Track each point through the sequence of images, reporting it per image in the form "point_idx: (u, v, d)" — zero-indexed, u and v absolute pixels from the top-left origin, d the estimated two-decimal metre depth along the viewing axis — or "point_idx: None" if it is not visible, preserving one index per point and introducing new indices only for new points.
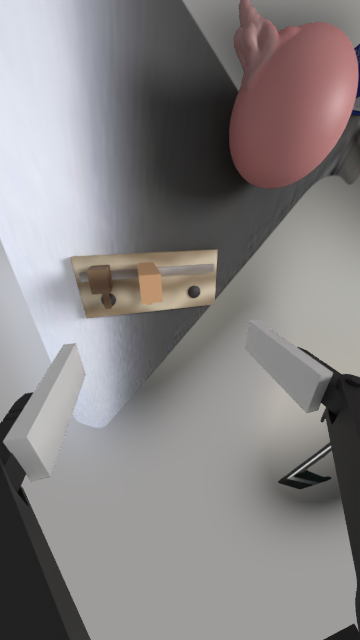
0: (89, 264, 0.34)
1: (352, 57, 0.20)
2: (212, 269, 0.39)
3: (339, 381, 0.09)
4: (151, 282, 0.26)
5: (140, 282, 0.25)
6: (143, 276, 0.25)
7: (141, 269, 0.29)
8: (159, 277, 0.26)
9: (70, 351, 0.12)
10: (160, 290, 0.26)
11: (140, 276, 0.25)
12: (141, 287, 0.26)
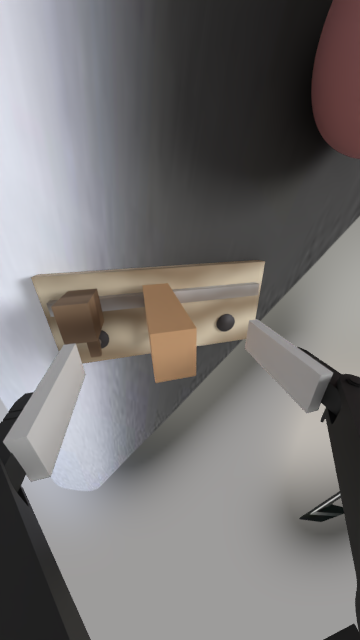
0: (64, 288, 0.21)
1: None
2: (256, 291, 0.26)
3: (339, 381, 0.09)
4: (177, 345, 0.12)
5: (153, 346, 0.12)
6: (160, 335, 0.12)
7: (152, 306, 0.16)
8: (193, 334, 0.12)
9: (70, 351, 0.12)
10: (193, 357, 0.13)
11: (154, 335, 0.12)
12: (155, 355, 0.12)
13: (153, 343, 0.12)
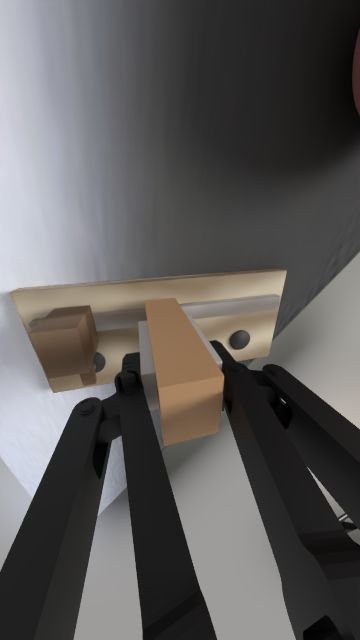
0: (51, 304, 0.18)
1: None
2: (276, 305, 0.22)
3: (226, 372, 0.10)
4: (196, 398, 0.09)
5: (163, 402, 0.08)
6: (173, 387, 0.08)
7: (158, 334, 0.12)
8: (219, 383, 0.09)
9: (147, 325, 0.15)
10: (216, 411, 0.09)
11: (164, 388, 0.08)
12: (165, 413, 0.09)
13: (162, 399, 0.08)
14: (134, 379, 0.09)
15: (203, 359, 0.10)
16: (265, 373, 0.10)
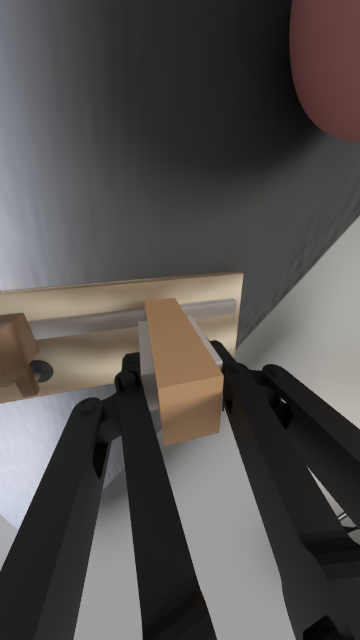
0: None
1: None
2: (233, 309, 0.21)
3: (226, 372, 0.10)
4: (196, 398, 0.09)
5: (163, 403, 0.08)
6: (172, 387, 0.08)
7: (158, 334, 0.12)
8: (218, 383, 0.09)
9: (147, 325, 0.15)
10: (216, 411, 0.09)
11: (163, 388, 0.08)
12: (165, 413, 0.09)
13: (162, 399, 0.08)
14: (134, 379, 0.09)
15: (203, 359, 0.10)
16: (265, 373, 0.10)
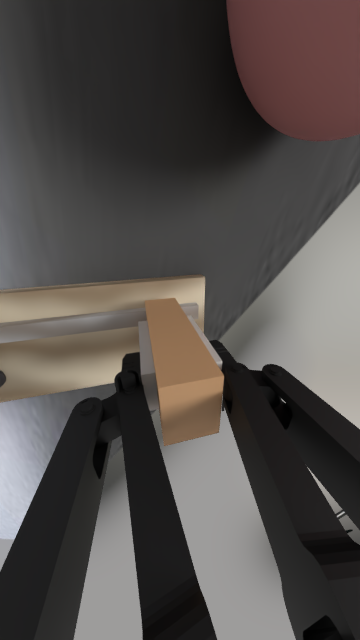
0: None
1: None
2: (195, 314, 0.20)
3: (226, 372, 0.10)
4: (196, 398, 0.09)
5: (163, 402, 0.08)
6: (173, 387, 0.08)
7: (158, 334, 0.12)
8: (219, 383, 0.09)
9: (147, 325, 0.15)
10: (216, 411, 0.09)
11: (164, 388, 0.08)
12: (165, 413, 0.09)
13: (162, 399, 0.08)
14: (134, 379, 0.09)
15: (203, 359, 0.10)
16: (265, 373, 0.10)
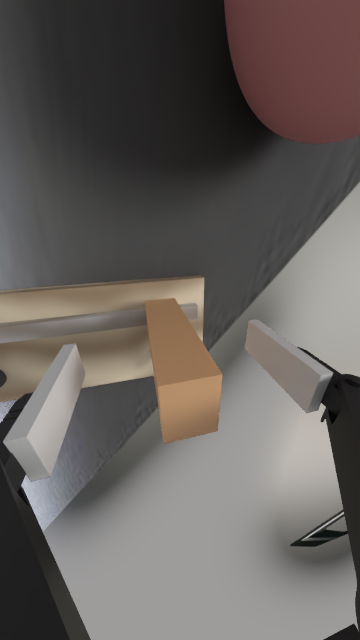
0: None
1: None
2: (195, 314, 0.20)
3: (339, 381, 0.09)
4: (195, 397, 0.09)
5: (162, 401, 0.08)
6: (172, 386, 0.08)
7: (158, 334, 0.12)
8: (217, 382, 0.09)
9: (70, 351, 0.12)
10: (215, 409, 0.10)
11: (163, 386, 0.08)
12: (164, 411, 0.09)
13: (162, 397, 0.08)
14: None
15: (202, 358, 0.10)
16: None
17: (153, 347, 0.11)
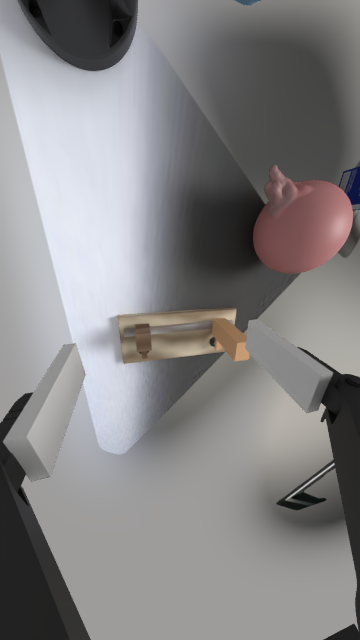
0: (132, 322, 0.41)
1: (348, 210, 0.28)
2: None
3: (339, 381, 0.09)
4: (244, 347, 0.35)
5: (237, 347, 0.34)
6: (240, 343, 0.34)
7: (228, 331, 0.38)
8: None
9: (70, 351, 0.12)
10: None
11: (238, 343, 0.34)
12: (237, 350, 0.34)
13: (237, 346, 0.34)
14: None
15: (245, 338, 0.35)
16: None
17: (230, 335, 0.37)
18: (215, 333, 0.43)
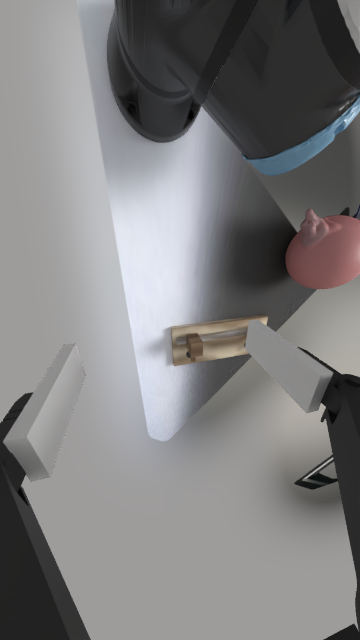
0: (183, 332, 0.50)
1: None
2: None
3: (339, 381, 0.09)
4: None
5: None
6: None
7: None
8: None
9: (70, 351, 0.12)
10: None
11: None
12: None
13: None
14: None
15: None
16: None
17: None
18: None
